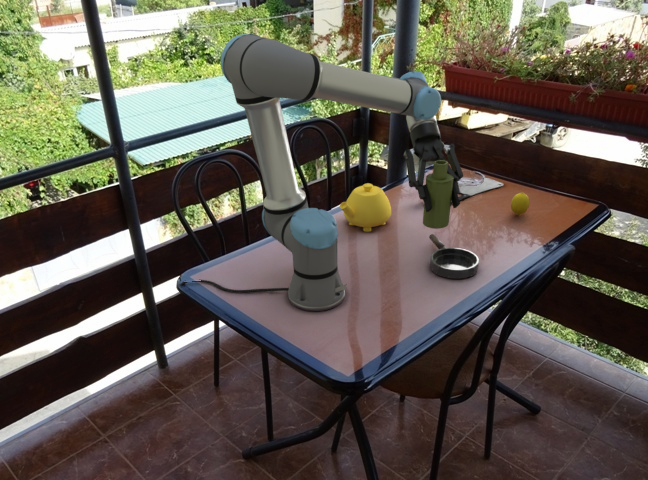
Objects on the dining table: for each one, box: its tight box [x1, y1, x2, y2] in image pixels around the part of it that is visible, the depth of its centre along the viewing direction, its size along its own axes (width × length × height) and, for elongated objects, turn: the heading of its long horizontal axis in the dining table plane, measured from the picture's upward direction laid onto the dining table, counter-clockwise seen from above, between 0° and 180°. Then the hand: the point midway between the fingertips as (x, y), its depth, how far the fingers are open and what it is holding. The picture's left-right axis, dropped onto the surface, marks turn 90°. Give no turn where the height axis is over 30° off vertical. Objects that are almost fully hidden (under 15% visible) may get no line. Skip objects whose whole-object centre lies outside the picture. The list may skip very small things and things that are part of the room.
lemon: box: [510, 192, 530, 216], centre depth 184 cm, size 6×6×8 cm
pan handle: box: [428, 233, 447, 250], centre depth 167 cm, size 2×10×2 cm, turn 10°
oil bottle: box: [422, 160, 453, 230], centre depth 146 cm, size 7×7×17 cm
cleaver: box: [451, 177, 504, 205], centre depth 205 cm, size 29×1×10 cm
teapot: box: [339, 182, 392, 232], centre depth 182 cm, size 20×16×14 cm
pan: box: [429, 247, 480, 280], centre depth 158 cm, size 13×13×3 cm
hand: (443, 207), depth 145 cm, fingers closed on oil bottle, 7 cm apart
